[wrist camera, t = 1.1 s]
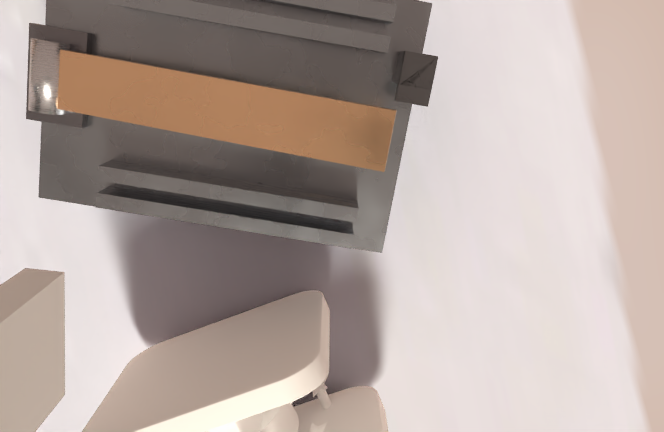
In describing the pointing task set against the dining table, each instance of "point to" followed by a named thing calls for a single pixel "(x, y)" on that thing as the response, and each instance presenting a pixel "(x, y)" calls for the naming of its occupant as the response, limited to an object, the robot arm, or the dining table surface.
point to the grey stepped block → (252, 67)
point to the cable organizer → (241, 378)
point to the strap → (208, 106)
